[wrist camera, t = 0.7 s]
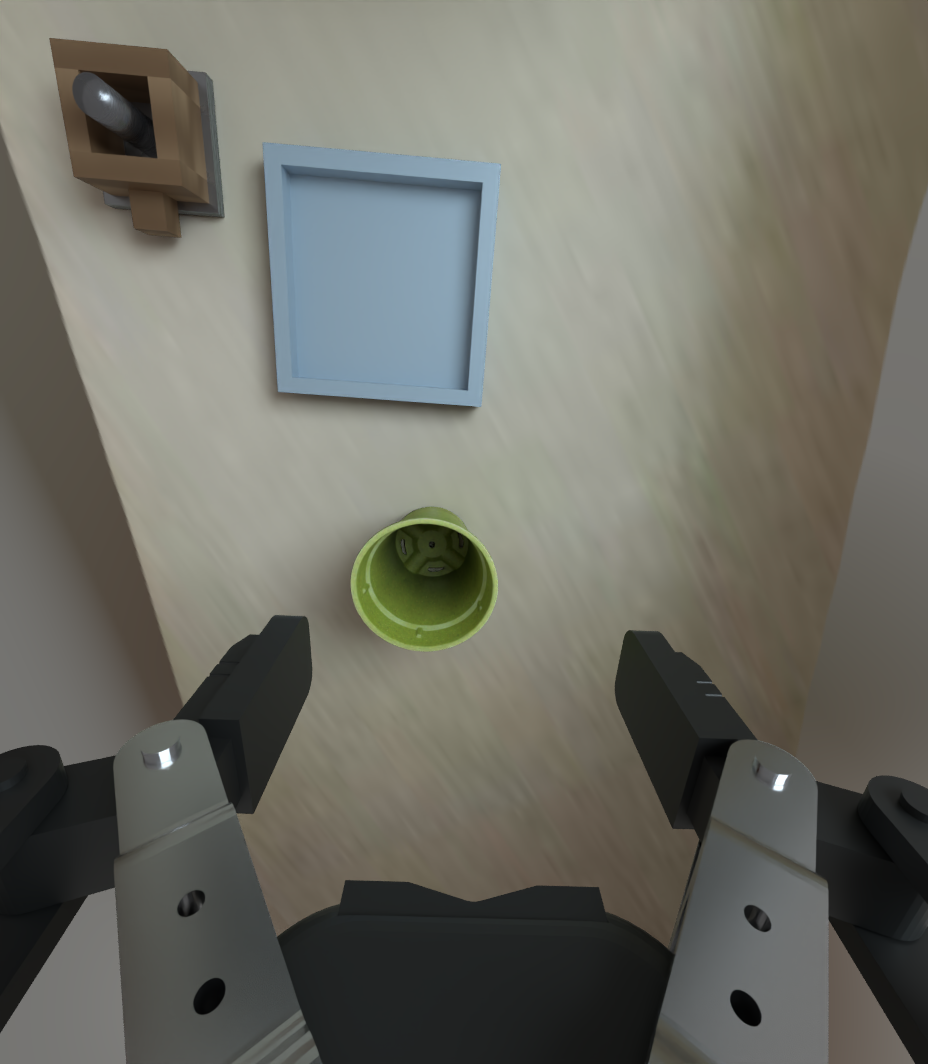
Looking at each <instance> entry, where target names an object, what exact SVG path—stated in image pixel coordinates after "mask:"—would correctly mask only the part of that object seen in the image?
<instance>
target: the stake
mask: <svg viewBox="0 0 928 1064" xmlns="http://www.w3.org/2000/svg"><path fill="white" fill-rule="evenodd" d="M188 73H189V74H190V75H191V76H192V77H193V78H194V79H195V80H196V81H197V82H198V90H199V101H200V111H201V122H202V132H203V142H204V153H205V163H206V173H207V184H208V194H209V204H208V203H197V202H185V201H177V205H178V214H189V215H201V216H213V217H224V207H223V195H222V184H221V173H220V161H219V150H218V139H217V127H216V116H215V105H214V93H213V82H212V80H211V78H210V77H209V76H208V75H207V74H206V73H205V72H195V71H188ZM72 92H73V97H74V99H75V102H76V104H77V105H78V107H79V108H80V109H81V110H82V111H83V112H84V113H85V114H87V115H88V116H90V117H91V118H93V119H94V120H96V121H97V122H99V123H100V124H102V125H103V126H105V127H106V128H108V129H109V130H110V131H112V132H113V133H115V134H116V135H118V136H119V137H121V138H122V139H123V142H124V149H125V156H136V157H147V158H157V150H156V142H155V134H154V126H153V118H152V110H151V104H149V103H139V102H129V101H128V100H127V99H125V98H124V97H123V96H122V95H120V94H119V93H118V92H117V91H115V90H114V89H113V88H112V87H110V86H109V85H108V84H107V83H105V82H104V81H103V80H102V79H100V78H99V77H98V76H97V75H95V74H93V73H90V72H82V73H80V74H78V75H77V76H76V77H75V79H74V81H73V86H72ZM103 194H104V201H105V204H106V205H108V206H111V207H113V208H119V209H131V205H130V198H129V197H127V196H115V195H110V194H108V193H106V192H104V191H103Z"/></svg>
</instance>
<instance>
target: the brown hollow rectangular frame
mask: <svg viewBox="0 0 928 1064" xmlns="http://www.w3.org/2000/svg"><path fill="white" fill-rule="evenodd" d="M49 39H50V45H51V50H52V56H53V62H54V67H55V73H56V79H57V84H58V90H59V96H60V101H61V107H62V112H63V118H64V124H65V129H66V135H67V141H68V146H69V152H70V158H71V163H72V169H73V175H74V177H76V178H78V179H80V180H82V181H84V182H86V183H88V184H90V185H92V186H94V187H96V188H98V189H100V190H102V191H104V192H106V193H108V194H110V195H115V196H127V197H129V198H130V205H131V212H132V219H133V226H134V229H137V230H139V231H141V232H144V233H146V234H148V235H156V236H167V237H179V238H181V231H180V222H179V214H178V205H177V201H185V202H197V203H208V204H209V194H208V184H207V173H206V163H205V153H204V142H203V132H202V122H201V111H200V101H199V90H198V82H197V81H196V80H195V79H194V78H193V77H192V76H191V75H190V74H189V73H188V71H187V70H186V69H185V68H184V67H183V66H182V65H181V64H180V63H179V62H178V61H177V60H176V58H175V57H174V56H173V55H172V54H171V53H170V52H169V51H168V50H167V49H158V48H148V47H138V46H127V45H117V44H107V43H96V42H86V41H75V40H65V39H55V38H49ZM82 72H90V73H93V74H95V75H97V76H98V77H99V78H100V79H102V80H103V81H104V82H105V83H107V84H108V85H109V86H110V87H112V88H113V89H114V90H115V91H117V92H118V93H119V94H120V95H122V96H123V97H124V98H125V99H127V100H128V101H129V102H139V103H149V104H151V110H152V118H153V126H154V134H155V142H156V150H157V158H147V157H136V156H125V149H124V142H123V139H122V138H121V137H119V136H118V135H116V134H115V133H113V132H112V131H110V130H109V129H108V128H106V127H105V126H103V125H102V124H100V123H99V122H97V121H96V120H94V119H93V118H91V117H90V116H88V115H87V114H85V113H84V112H83V111H82V110H81V109H80V108H79V107H78V105H77V104H76V102H75V99H74V97H73V92H72V86H73V81H74V79H75V77H76V76H77V75H78V74H80V73H82Z"/></svg>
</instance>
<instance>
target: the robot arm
mask: <svg viewBox="0 0 928 1064" xmlns="http://www.w3.org/2000/svg"><path fill="white" fill-rule="evenodd" d="M311 680H312V659H311V647H310V634H309V623H308V619H307V617H305V616H284V615H275V616H273V617H272V618H271V620H270V621H269V622H268V624H267V625H266V626H265V628H264V629H263V631H262V632H261V633H260V635H248V636H247V637H245V638H244V639H242V640H241V641H239V642H238V643H236V644H235V645H233V646H232V647H231V648H230V649H229V650H228V651H227V653H226V654H225V655H224V656H223V658H222V659H221V660H220V663H219V664H217V665H216V667H215V668H214V669H213V670H212V672H211V673H210V676H209V677H207V678H206V679H205V680H204V682H203V683H202V684H201V685H200V687H199V688H198V689H197V690H196V692H195V693H194V694H193V695H192V697H191V698H190V699H189V700H188V702H187V703H186V704H185V705H184V707H183V708H182V709H181V710H180V712H179V713H178V714H177V716H176V717H175V718H174V719H173V720H171V721H167V722H163V723H160V724H156V725H154V726H151V727H149V728H147V729H145V730H143V731H141V732H140V733H138V734H137V735H135V736H134V737H132V738H131V739H130V740H128V741H127V743H125V745H123V746H122V748H121V749H120V750H119V752H118V753H117V755H116V756H111V757H107V758H102V759H97V760H92V761H87V762H82V763H77V764H72V765H67V766H63V763H62V760H61V757H60V754H59V752H58V751H57V750H56V749H54V748H52V747H50V746H44V745H34V746H27V747H21V748H17V749H14V750H10V751H7V752H5V753H2V754H0V1032H1V1031H2V1029H3V1028H4V1026H5V1024H6V1023H7V1021H8V1020H9V1019H10V1017H11V1015H12V1014H13V1012H14V1011H15V1009H16V1008H17V1006H18V1004H19V1003H20V1001H21V1000H22V998H23V996H24V995H25V993H26V992H27V990H28V989H29V987H30V986H31V984H32V982H33V981H34V979H35V978H36V976H37V975H38V973H39V971H40V970H41V968H42V967H43V965H44V963H45V962H46V960H47V959H48V957H49V956H50V954H51V953H52V951H53V949H54V948H55V946H56V945H57V943H58V942H59V940H60V938H61V937H62V935H63V934H64V932H65V930H66V929H67V927H68V926H69V924H70V923H71V921H72V920H73V918H74V916H75V915H76V913H77V912H78V910H79V909H80V907H81V905H82V904H83V902H84V901H85V899H86V898H87V896H88V895H90V894H94V893H97V892H100V891H104V890H107V889H110V888H115V897H116V911H117V928H118V943H119V958H120V975H121V989H122V1005H123V1020H124V1037H125V1052H126V1064H828V920H829V921H830V923H831V924H832V926H833V928H834V930H835V931H836V933H837V934H838V936H839V938H840V939H841V941H842V943H843V944H844V946H845V948H846V949H847V951H848V953H849V954H850V956H851V958H852V959H853V961H854V963H855V964H856V966H857V968H858V969H859V971H860V973H861V974H862V976H863V978H864V979H865V981H866V983H867V984H868V986H869V987H870V989H871V991H872V993H873V994H874V996H875V998H876V999H877V1001H878V1003H879V1004H880V1006H881V1008H882V1009H883V1011H884V1013H885V1014H886V1016H887V1018H888V1019H889V1021H890V1023H891V1024H892V1026H893V1027H894V1029H895V1031H896V1033H897V1034H898V1036H899V1037H900V1039H901V1041H902V1043H903V1044H904V1046H905V1047H906V1049H907V1050H908V1052H909V1054H910V1056H911V1057H912V1059H913V1061H914V1062H915V1064H928V789H927V788H925V787H923V786H921V785H918V784H916V783H914V782H911V781H908V780H905V779H902V778H898V777H893V776H876V777H874V778H872V779H871V780H870V781H869V783H868V785H867V787H866V789H865V792H864V793H863V794H860V793H857V792H853V791H850V790H846V789H842V788H839V787H835V786H831V785H828V784H824V783H821V782H818V781H815V779H814V777H813V776H812V774H811V773H810V771H809V770H808V769H807V768H806V767H805V766H804V765H803V764H802V763H801V762H800V761H799V760H797V759H796V758H795V757H793V756H792V755H790V754H789V753H787V752H786V751H784V750H782V749H780V748H778V747H776V746H774V745H771V744H768V743H765V742H762V741H758V740H757V739H756V737H755V736H754V735H753V734H752V732H751V731H750V730H749V728H748V727H747V726H746V725H745V723H744V722H743V721H742V719H741V718H740V717H739V715H738V714H737V713H736V712H735V710H734V709H733V708H732V706H731V705H730V704H729V703H728V701H727V700H726V699H725V697H722V694H721V692H720V691H719V690H718V688H717V687H716V686H715V684H712V681H711V679H710V678H709V677H708V675H707V674H706V673H705V672H704V670H703V669H702V668H701V666H700V665H698V664H697V663H695V662H694V661H693V660H691V659H690V658H689V657H687V656H686V655H684V654H683V653H682V652H675V651H674V650H673V649H672V647H671V646H670V644H669V643H668V642H667V640H666V639H665V638H664V636H663V635H662V634H661V633H660V632H658V631H634V630H629V631H627V632H626V634H625V636H624V640H623V645H622V650H621V655H620V660H619V665H618V670H617V675H616V680H615V697H616V702H617V705H618V708H619V710H620V712H621V715H622V717H623V719H624V721H625V724H626V726H627V728H628V730H629V733H630V735H631V737H632V739H633V741H634V744H635V746H636V748H637V750H638V753H639V755H640V757H641V759H642V762H643V764H644V766H645V768H646V770H647V773H648V775H649V777H650V779H651V782H652V784H653V786H654V788H655V791H656V793H657V795H658V797H659V799H660V802H661V804H662V806H663V808H664V811H665V813H666V815H667V817H668V819H669V822H670V824H671V826H672V828H673V829H695V831H696V834H697V836H698V838H699V842H698V845H697V848H696V851H695V855H694V858H693V862H692V865H691V869H690V872H689V876H688V880H687V883H686V887H685V890H684V894H683V897H682V901H681V904H680V908H679V911H678V915H677V918H676V922H675V926H674V929H673V932H672V936H671V939H670V942H669V946H668V949H667V948H666V947H665V946H664V945H663V944H662V943H661V942H659V941H658V940H656V939H655V938H654V937H652V936H651V935H650V934H648V933H647V932H646V931H644V930H642V929H641V928H639V927H637V926H636V925H634V924H632V923H631V922H629V921H627V920H624V919H622V918H620V917H618V916H616V915H613V914H610V913H607V912H605V909H604V906H603V902H602V898H601V894H600V890H599V887H570V886H534V887H530V888H526V889H523V890H519V891H515V892H512V893H508V894H504V895H501V896H497V897H493V898H490V899H486V900H482V901H477V902H470V901H466V900H463V899H460V898H456V897H453V896H450V895H447V894H444V893H441V892H438V891H435V890H432V889H428V888H425V887H422V886H419V885H416V884H413V883H410V882H390V881H354V880H345V885H344V889H343V894H342V898H341V903H340V904H338V905H335V906H331V907H328V908H326V909H323V910H321V911H318V912H316V913H314V914H312V915H310V916H308V917H306V918H304V919H302V920H301V921H299V922H297V923H296V924H294V925H293V926H291V927H290V928H288V929H287V930H286V931H284V932H283V933H281V934H280V935H279V936H278V937H277V936H276V933H275V930H274V927H273V924H272V921H271V918H270V915H269V912H268V908H267V905H266V902H265V899H264V896H263V893H262V890H261V887H260V884H259V881H258V878H257V875H256V872H255V869H254V866H253V863H252V860H251V857H250V854H249V851H248V848H247V845H246V842H245V839H244V835H243V832H242V829H241V826H240V823H239V820H238V817H237V814H236V813H243V814H254V812H255V809H256V807H257V805H258V803H259V801H260V798H261V796H262V794H263V792H264V790H265V788H266V785H267V783H268V781H269V779H270V777H271V774H272V772H273V770H274V768H275V766H276V763H277V761H278V759H279V757H280V755H281V752H282V750H283V748H284V746H285V744H286V741H287V739H288V737H289V735H290V733H291V730H292V728H293V726H294V724H295V722H296V719H297V717H298V715H299V713H300V711H301V709H302V706H303V704H304V702H305V700H306V698H307V695H308V693H309V690H310V686H311Z"/></svg>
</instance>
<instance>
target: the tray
mask: <svg viewBox="0 0 928 1064" xmlns="http://www.w3.org/2000/svg"><path fill="white" fill-rule="evenodd" d="M263 157H264V173H265V189H266V206H267V222H268V238H269V254H270V271H271V287H272V303H273V320H274V336H275V352H276V369H277V385H278V392H288V393H301V394H315V395H328V396H342V397H356V398H369V399H383V400H397V401H410V402H424V403H437V404H451V405H465V406H478V407H481V404H482V391H483V379H484V367H485V354H486V342H487V330H488V318H489V305H490V293H491V281H492V269H493V256H494V244H495V232H496V220H497V207H498V195H499V183H500V170H501V164H497V163H486V162H475V161H464V160H453V159H442V158H431V157H420V156H409V155H398V154H387V153H376V152H365V151H354V150H343V149H332V148H321V147H310V146H298V145H287V144H276V143H265V142H263Z"/></svg>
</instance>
